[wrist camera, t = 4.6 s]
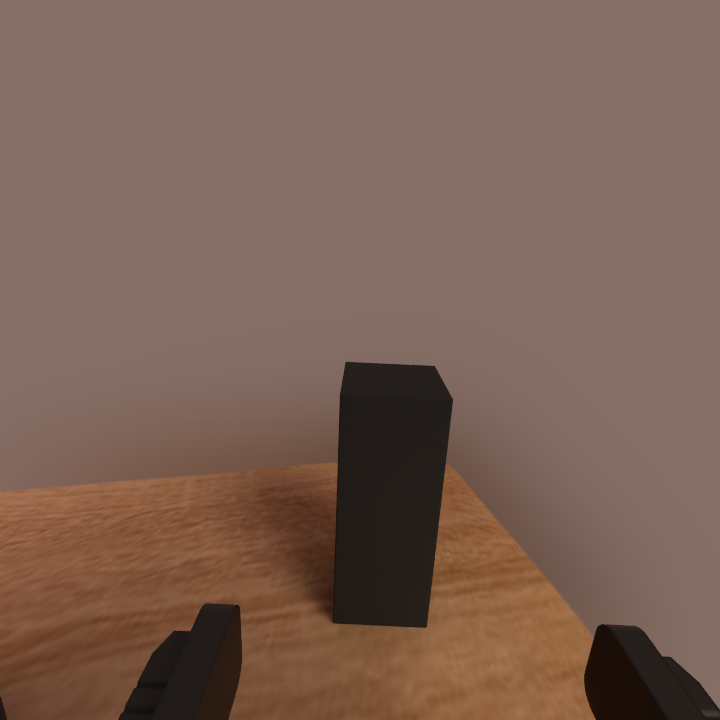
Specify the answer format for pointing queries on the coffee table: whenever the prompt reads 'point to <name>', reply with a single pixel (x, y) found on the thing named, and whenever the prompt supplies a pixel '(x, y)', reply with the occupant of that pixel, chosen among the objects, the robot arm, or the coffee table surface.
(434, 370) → the post
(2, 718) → the base pad
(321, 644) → the coffee table surface
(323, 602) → the coffee table surface
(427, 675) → the coffee table surface
